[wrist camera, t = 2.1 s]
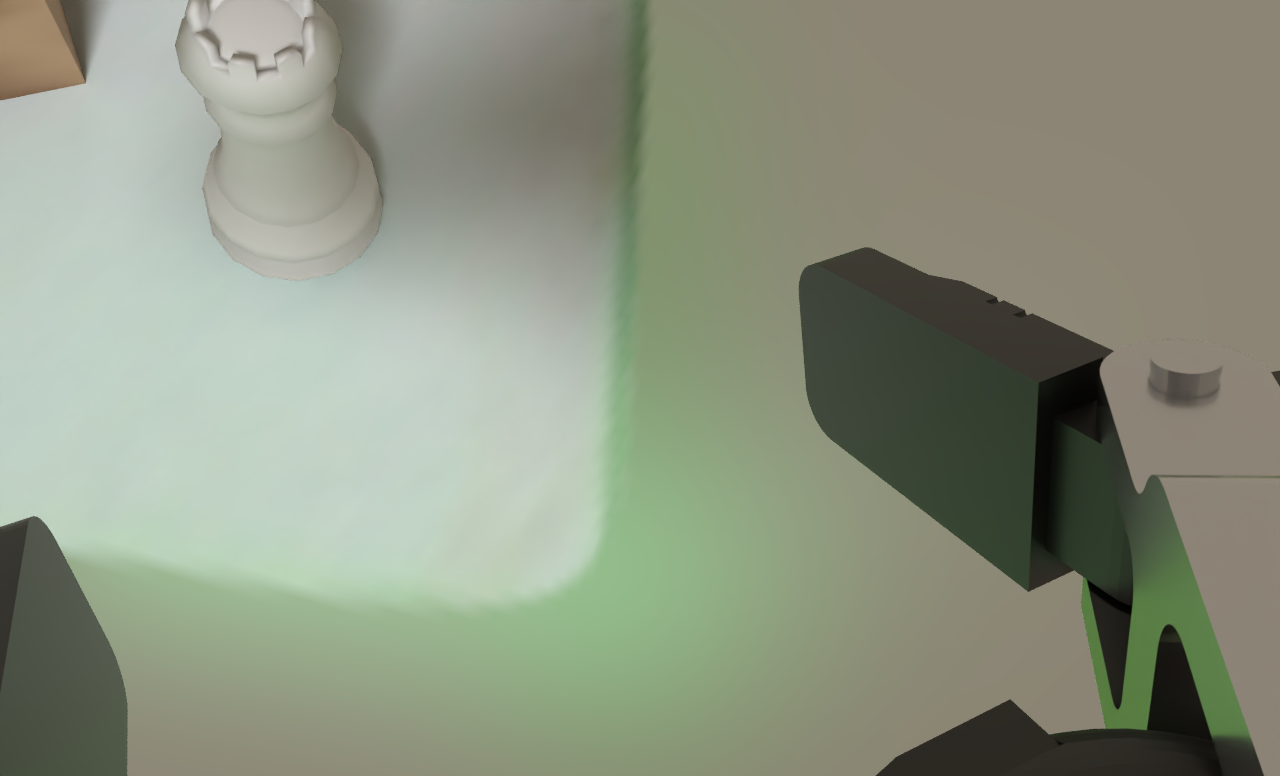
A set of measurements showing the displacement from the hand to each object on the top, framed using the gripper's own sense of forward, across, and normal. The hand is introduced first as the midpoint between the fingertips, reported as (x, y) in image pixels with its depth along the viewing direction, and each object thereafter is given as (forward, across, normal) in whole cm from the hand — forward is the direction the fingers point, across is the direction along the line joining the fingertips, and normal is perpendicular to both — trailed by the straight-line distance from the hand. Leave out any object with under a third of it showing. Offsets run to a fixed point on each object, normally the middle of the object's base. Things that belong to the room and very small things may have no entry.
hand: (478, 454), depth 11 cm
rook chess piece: (+19, 0, +3) cm, 20 cm away
